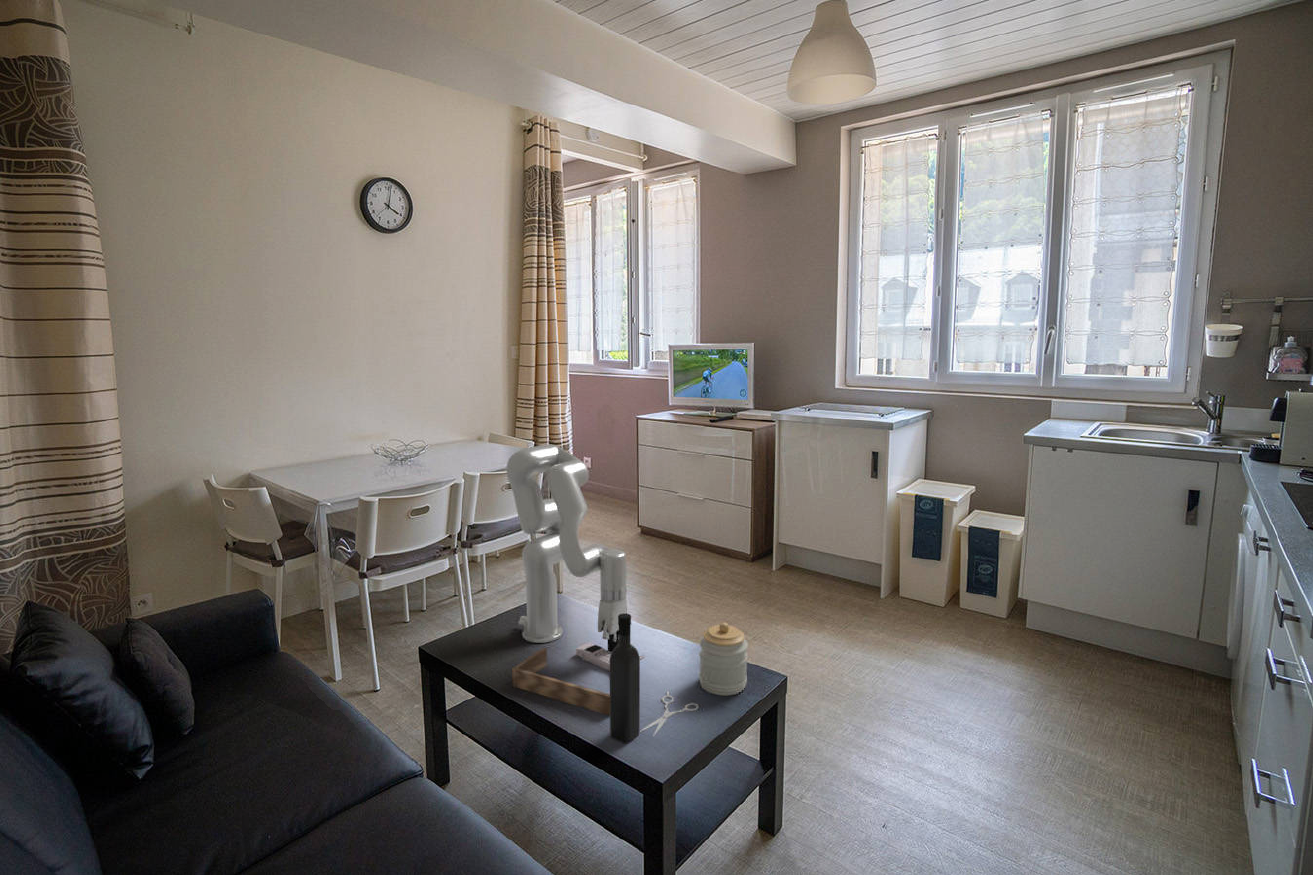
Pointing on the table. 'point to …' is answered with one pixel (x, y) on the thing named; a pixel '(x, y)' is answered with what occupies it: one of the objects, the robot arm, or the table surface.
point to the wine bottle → (624, 685)
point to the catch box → (557, 685)
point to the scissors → (668, 713)
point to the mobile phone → (596, 655)
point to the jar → (723, 660)
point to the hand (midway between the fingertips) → (613, 651)
